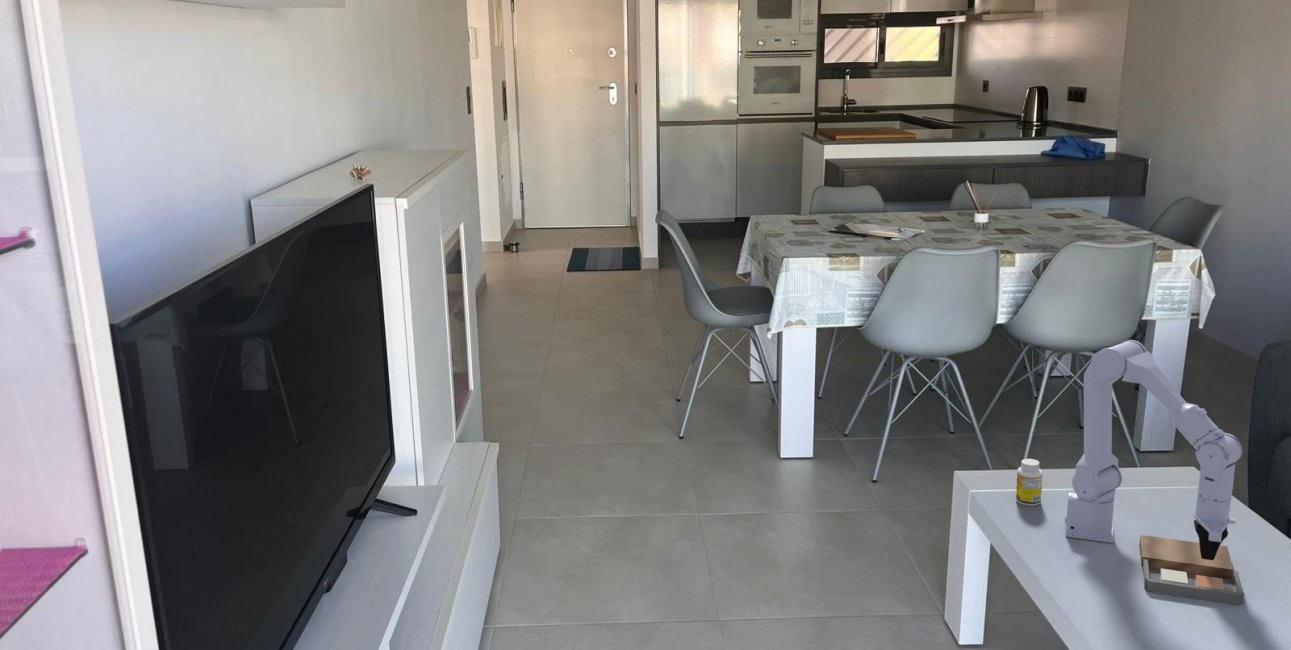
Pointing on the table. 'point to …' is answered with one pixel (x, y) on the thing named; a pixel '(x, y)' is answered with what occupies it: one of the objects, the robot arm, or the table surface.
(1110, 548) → the table surface
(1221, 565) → the plate
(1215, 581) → the tile terracotta
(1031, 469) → the supplement bottle
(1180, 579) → the tile cream
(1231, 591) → the box
